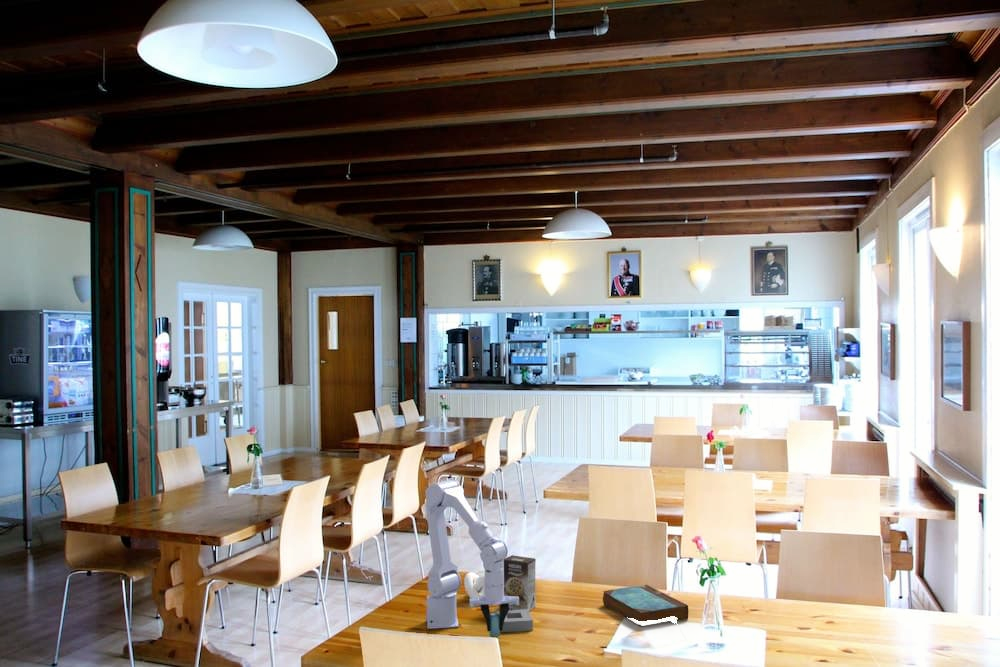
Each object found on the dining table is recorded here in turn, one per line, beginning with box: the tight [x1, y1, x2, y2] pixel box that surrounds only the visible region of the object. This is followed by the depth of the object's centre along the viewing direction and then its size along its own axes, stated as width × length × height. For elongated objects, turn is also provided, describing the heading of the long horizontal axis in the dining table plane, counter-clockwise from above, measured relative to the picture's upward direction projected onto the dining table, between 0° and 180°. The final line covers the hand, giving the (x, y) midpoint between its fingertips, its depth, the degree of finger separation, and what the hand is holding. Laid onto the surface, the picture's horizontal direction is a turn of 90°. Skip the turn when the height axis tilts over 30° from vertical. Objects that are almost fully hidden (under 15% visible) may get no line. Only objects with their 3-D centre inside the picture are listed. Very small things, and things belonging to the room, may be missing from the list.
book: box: [602, 584, 689, 621], centre depth 250 cm, size 23×18×5 cm
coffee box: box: [503, 554, 537, 612], centre depth 256 cm, size 9×6×16 cm
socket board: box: [495, 609, 534, 633], centre depth 240 cm, size 10×10×3 cm
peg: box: [489, 612, 501, 638], centre depth 230 cm, size 3×3×6 cm
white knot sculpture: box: [463, 568, 485, 599], centre depth 266 cm, size 11×12×9 cm
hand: (494, 629), depth 230 cm, fingers closed on peg, 3 cm apart
